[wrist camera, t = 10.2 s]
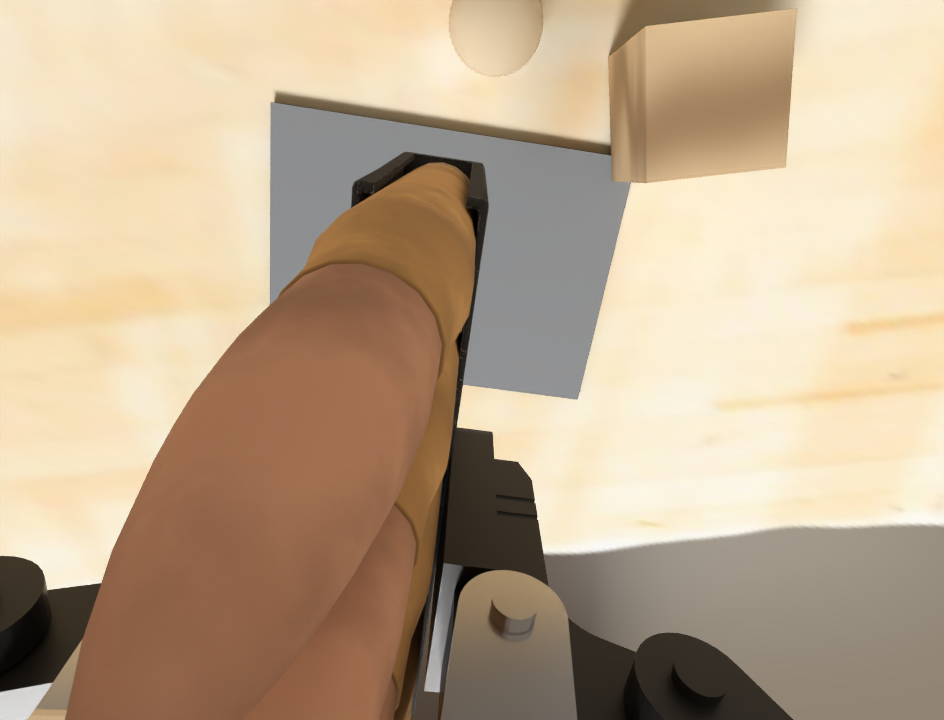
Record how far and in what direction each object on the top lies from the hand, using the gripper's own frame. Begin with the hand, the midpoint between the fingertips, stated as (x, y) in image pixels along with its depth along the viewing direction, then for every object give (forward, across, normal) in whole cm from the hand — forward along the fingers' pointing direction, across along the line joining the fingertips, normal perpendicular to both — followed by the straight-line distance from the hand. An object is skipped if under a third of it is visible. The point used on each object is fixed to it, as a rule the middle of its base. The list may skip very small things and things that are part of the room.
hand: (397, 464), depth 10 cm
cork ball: (+16, -1, -10) cm, 19 cm away
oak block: (+17, -9, -8) cm, 21 cm away
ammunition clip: (+4, 0, 0) cm, 4 cm away
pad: (+18, 0, 0) cm, 18 cm away
